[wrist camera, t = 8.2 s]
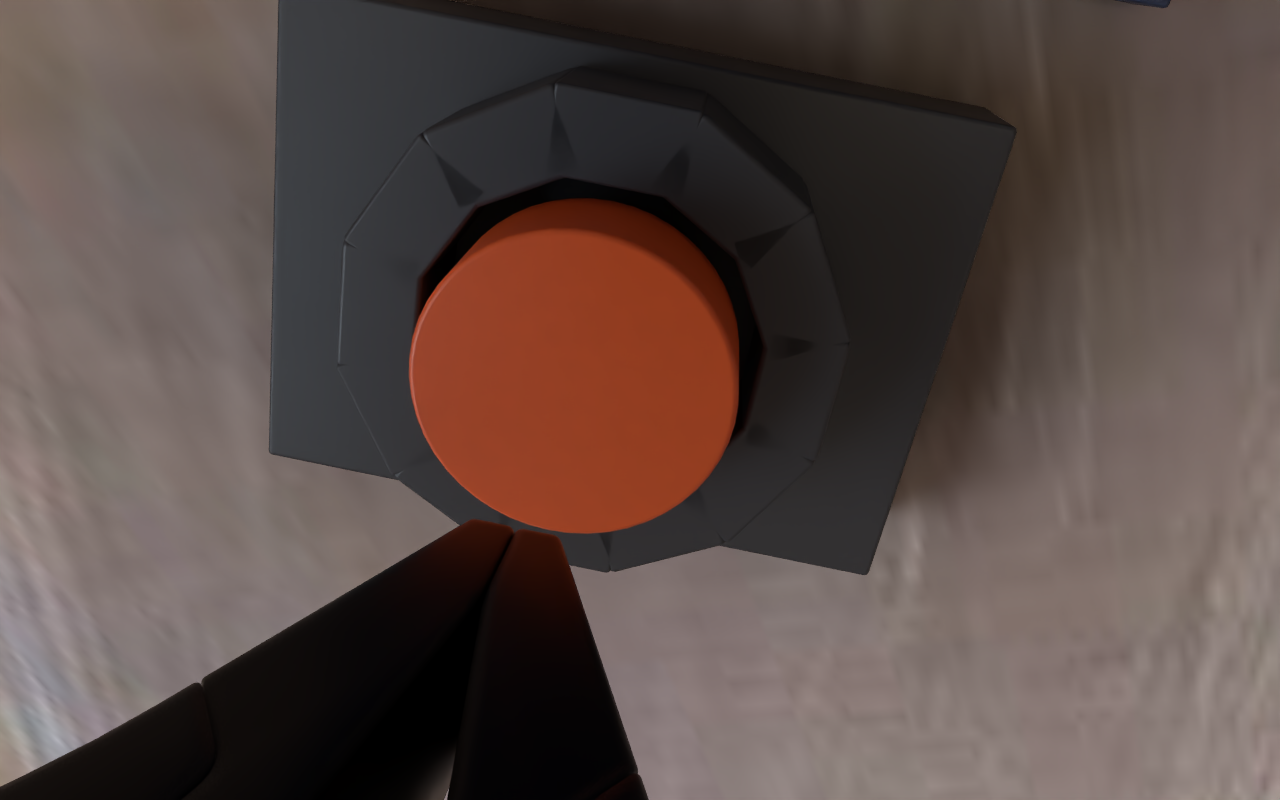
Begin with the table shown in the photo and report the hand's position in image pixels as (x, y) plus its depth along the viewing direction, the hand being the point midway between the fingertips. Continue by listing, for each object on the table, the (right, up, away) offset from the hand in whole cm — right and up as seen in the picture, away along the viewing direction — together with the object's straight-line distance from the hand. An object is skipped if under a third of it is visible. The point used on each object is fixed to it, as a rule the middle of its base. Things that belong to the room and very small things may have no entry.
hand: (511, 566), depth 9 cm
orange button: (0, +2, +5) cm, 6 cm away
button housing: (+1, +4, +9) cm, 9 cm away
